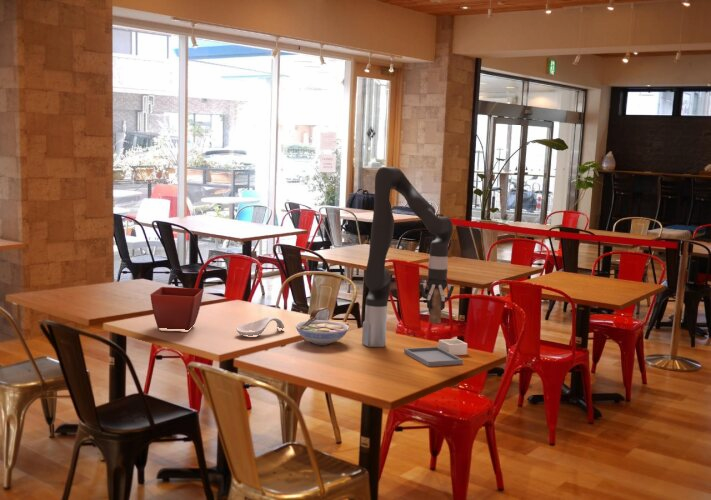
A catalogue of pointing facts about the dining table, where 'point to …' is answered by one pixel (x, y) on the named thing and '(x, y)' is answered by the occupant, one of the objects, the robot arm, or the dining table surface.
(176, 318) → the plant pot
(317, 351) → the dining table surface
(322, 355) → the dining table surface
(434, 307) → the peg
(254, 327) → the spoon rest
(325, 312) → the soup spoon
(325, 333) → the ramen bowl
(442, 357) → the tray
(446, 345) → the square frame
